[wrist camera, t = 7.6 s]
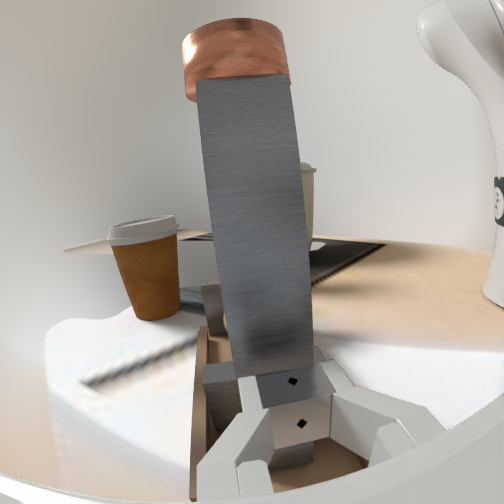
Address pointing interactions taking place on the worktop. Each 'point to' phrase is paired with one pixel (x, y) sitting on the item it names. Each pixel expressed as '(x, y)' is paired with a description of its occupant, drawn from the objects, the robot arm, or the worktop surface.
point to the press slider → (253, 210)
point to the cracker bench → (204, 435)
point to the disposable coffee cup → (148, 264)
